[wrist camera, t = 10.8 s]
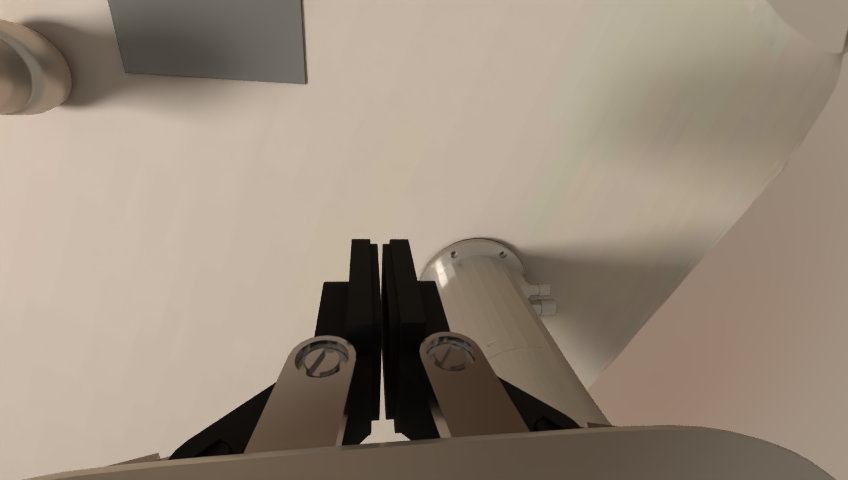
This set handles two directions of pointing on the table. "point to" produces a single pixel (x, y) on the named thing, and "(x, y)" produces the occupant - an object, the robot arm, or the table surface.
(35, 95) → the plastic bottle
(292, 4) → the mat
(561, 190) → the table surface
